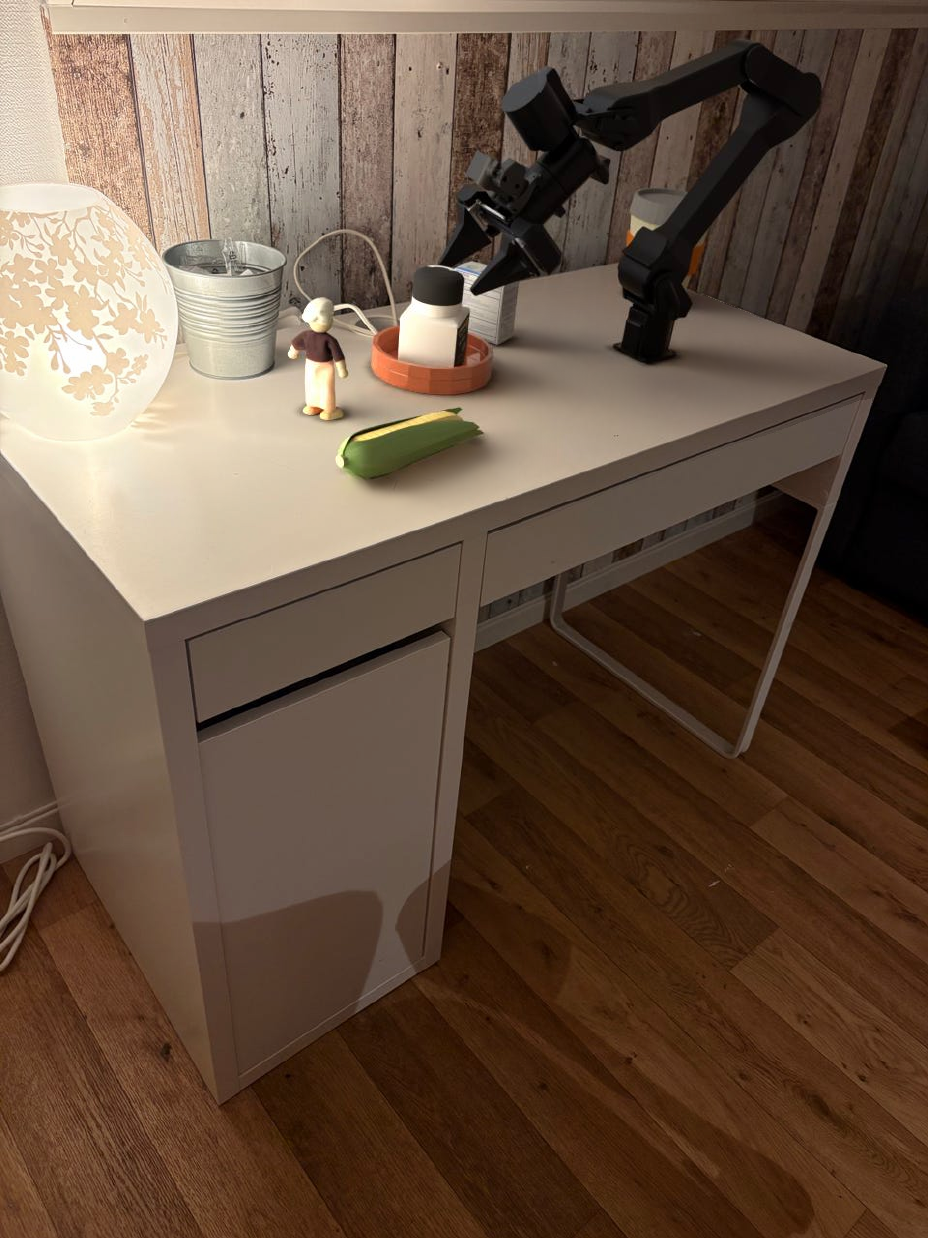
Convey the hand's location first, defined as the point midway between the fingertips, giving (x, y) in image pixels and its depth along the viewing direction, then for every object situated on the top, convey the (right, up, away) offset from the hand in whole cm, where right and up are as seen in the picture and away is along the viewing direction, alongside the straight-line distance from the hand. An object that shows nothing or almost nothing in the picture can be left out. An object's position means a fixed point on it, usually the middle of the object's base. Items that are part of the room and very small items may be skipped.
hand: (455, 280), depth 115 cm
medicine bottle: (-3, -9, +6) cm, 11 cm away
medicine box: (+3, -1, +18) cm, 18 cm away
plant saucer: (-3, -9, +6) cm, 11 cm away
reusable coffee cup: (+31, +11, +39) cm, 51 cm away
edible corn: (-4, -24, -14) cm, 28 cm away
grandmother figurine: (-15, -17, -7) cm, 24 cm away
